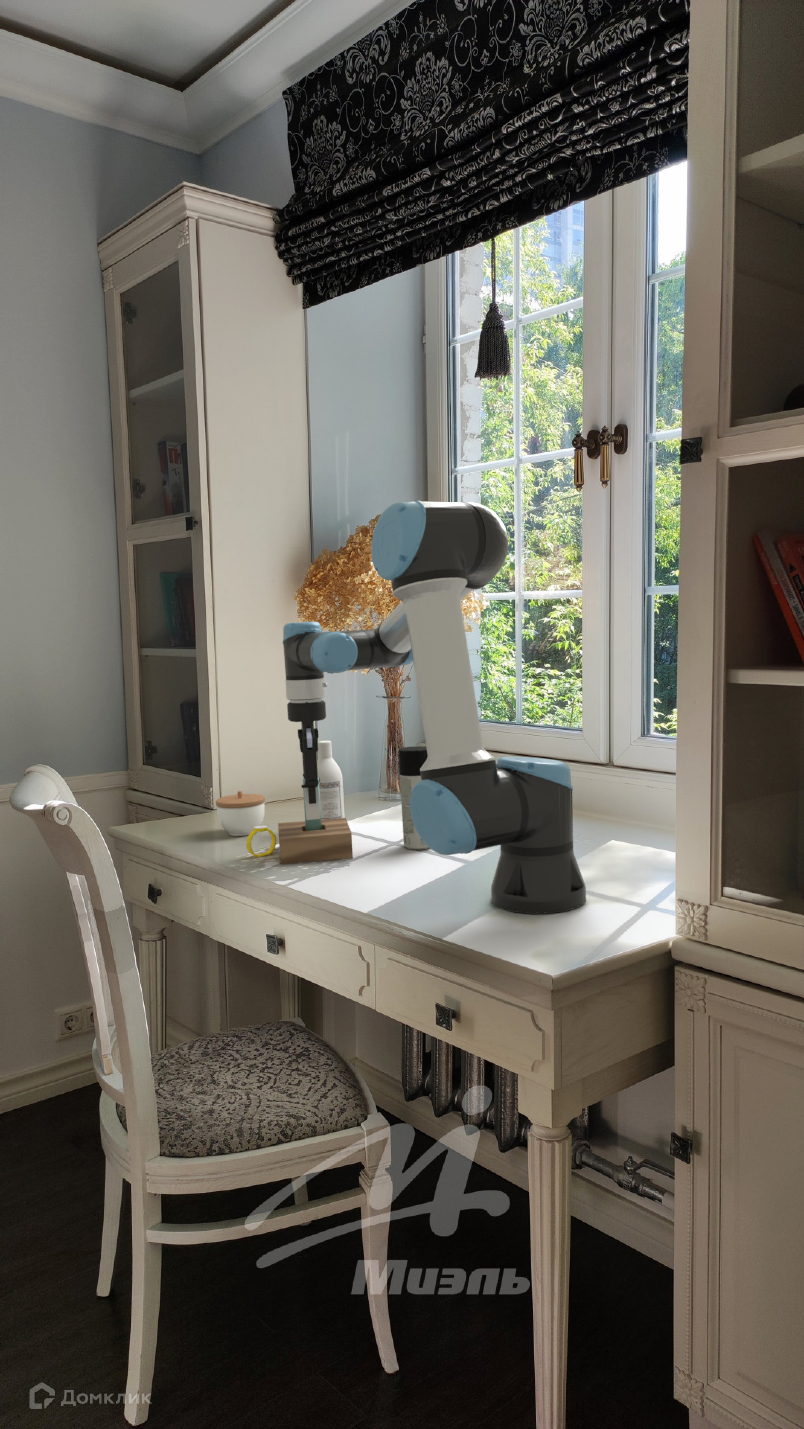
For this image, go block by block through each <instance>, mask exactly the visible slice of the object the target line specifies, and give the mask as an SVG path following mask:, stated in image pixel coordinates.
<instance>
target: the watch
mask: <svg viewBox="0 0 804 1429" xmlns="http://www.w3.org/2000/svg"><path fill="white" fill-rule="evenodd" d="M268 827H269V826H268V825H261V826H255V827H254V830H253V831H252V832H251V833H250V834H249V835H247V839H246V849H247V851H248V853H249V854H250V855H251V856H253V857H256V858H261V857H266V856H270V855H272V853H273V852H274V851H275V849H276V846H277V838H276V836H277V835H275V833H274V831H272V830H271V829H270V828H268ZM261 832H268V833H269V835H270V838H271V844H270V847H269V849H268V850H267V851H265V852H261V853H255V852H254V851H253V849H252V840H253V838H254V836H255V835H256V834H257V833H261Z"/></svg>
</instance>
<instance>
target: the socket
mask: <svg viewBox="0 0 804 1429" xmlns="http://www.w3.org/2000/svg"><path fill="white" fill-rule="evenodd" d="M277 826H278V828H277V831H278V843H279V844H278V846H279V847H278V848H279V862H280V865H285V864H287V865H288V864H296V863H309V862H321V861H332V860H333V861H334V860H335V859H336V860H345V859H346V860H348V859H354V854H353V839H352V838H353V835H352V831H351V828H350V825H349V822H348V819H347V817H345V818H338V819H325V820H321V826H322V830H313V831H306V827H305V820H299V821H289V822H288V821H287V822H278V823H277Z"/></svg>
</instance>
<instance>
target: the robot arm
mask: <svg viewBox="0 0 804 1429" xmlns="http://www.w3.org/2000/svg"><path fill="white" fill-rule="evenodd" d="M373 529H374V530H373V532H372V538H371V551H370V552H371V560H372V565H373V567H374V570H375V571H376V572H377V575H378V576H379V577H380V578H381V579H384V580H386V581H390V584H391V588H392V595H393V596H394V597H395V598H396V599H398V600H400V601H401V602H400V603H398V605H397V606H396V607H395V608H394V609H393V610H392V611H391V612H390V613H389V615H388V616H387V617H386V618H385V619H384V620H383V621H382V622H381V623H380V624H379V625H378V626H377V627H376V628H371V629H359V630H358V629H357V630H340V631H339V630H338V631H323V630H322V626H321V624H320V622H318V621H299V622H297V621H296V622H287V623H286V624H284V625H283V629H282V630H283V631H282V632H283V633H282V634H283V635H282V636H283V638H282V645H283V656H284V657H283V658H284V672H285V681H284V682H285V694H286V695H285V696H286V697H285V698H286V700H287V701H289V702H288V703H287V704H286V706H287V707H286V708H287V719H288V721H289V722H293V723H300V724H301V728H300V729H297V737H298V740H299V751H300V752H301V753H302V754H301V755H302V756H301V757H302V769H303V771H302V772H303V773H302V777H303V779H305V783H304V785H303V784H301V789H303V788H305V805H306V820H313V819H320V807H319V790H318V783H319V782H320V778H319V781H318V772H317V761H318V755H317V753H318V742H319V741H318V739H319V729H318V728H317V727H316V728H315V725H314V724H315V723H314V722H316V721H317V722H320V721H323V720H325V719H326V718H327V710H326V701H325V700H323V699H324V698H325V689H324V688H327V687H328V683H327V682H325V681H324V678H325V674H324V673H327V674H340V673H344V672H347V671H357V670H366V669H368V670H369V669H379V668H380V669H381V668H399V667H401V666H407V665H410V664H412V663H413V668H414V673H415V675H414V676H415V680H416V681H415V682H416V688H417V694H418V700H419V708H420V712H421V713H420V714H421V719H422V720H421V721H422V725H423V726H422V727H423V732H424V739H425V745H426V747H427V754H428V757H427V760H426V761H425V763H424V764H423V766H422V767H421V768H420V774H421V780H422V781H420V782H419V783H417V784H416V785H415V786H414V787H413V789H412V792H411V795H412V797H411V798H410V812H411V817H412V820H413V823H414V826H415V828H416V831H417V833H418V834H419V836H420V838H421V839H422V840H423V841H424V842H425V843H426V845H427V846H428V847H429V848H430V850H431V851H433V852H435V853H437V854H439V855H443V856H450V855H451V856H452V855H458V854H460V855H462V854H464V855H465V854H470V853H472V852H474V851H478V850H483V849H487V848H492V847H497V846H500V855H499V858H498V862H497V864H496V868H495V871H494V872H495V873H494V875H493V876H494V877H493V879H492V883H491V888H490V890H491V891H490V893H491V894H490V895H491V896H490V897H491V902H492V904H493V905H495V906H496V907H498V908H500V909H502V910H506V911H508V912H509V911H510V912H515V913H522V914H534V915H535V914H537V915H539V914H555V913H561V912H566V911H571V910H574V909H577V908H579V907H581V906H583V905H584V904H585V903H586V900H587V891H586V890H587V888H586V883H585V880H584V878H583V876H582V872H581V869H580V867H579V864H578V861H577V858H576V856H575V852H574V851H575V850H574V824H573V823H574V822H573V820H574V818H573V816H574V815H573V814H574V813H573V791H574V787H573V785H572V776H571V774H572V772H571V769H570V767H569V765H568V764H566V763H565V762H563V761H561V760H556V759H550V758H540V757H529V756H525V757H524V756H502V757H499V758H498V759H497V762H496V757H495V756H493V755H492V754H491V753H490V752H488V751H487V750H486V749H485V748H484V744H483V737H482V733H481V731H482V730H481V724H480V719H479V718H480V717H479V711H478V706H477V699H476V692H475V686H474V681H473V680H474V678H473V673H472V668H471V660H470V654H469V653H470V652H469V648H468V641H467V640H468V639H467V635H466V629H465V623H464V616H463V610H462V603H461V601H463V599H464V598H466V597H467V596H468V595H469V594H470V593H471V592H472V591H475V590H476V591H477V590H480V589H482V588H484V587H485V586H487V585H488V584H489V583H490V582H491V581H492V580H493V579H494V578H495V577H496V576H497V574H498V573H499V572H500V571H501V569H502V567H503V566H504V564H505V561H506V559H507V556H508V550H509V537H508V536H509V535H508V533H507V529H506V526H505V525H504V523H503V521H502V520H501V518H500V517H499V516H498V515H497V514H496V513H495V511H494V510H491V509H490V508H488V507H487V506H485V505H482V504H481V503H476V502H467V501H466V502H465V501H463V502H454V501H453V502H447V501H445V502H444V501H421V500H413V501H405V502H403V501H401V502H400V501H399V502H395V503H393V504H391V505H389V506H388V507H386V508H385V510H384V511H382V513H381V515H380V516H379V517H378V520H377V521H376V525H375V527H374V528H373Z"/></svg>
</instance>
